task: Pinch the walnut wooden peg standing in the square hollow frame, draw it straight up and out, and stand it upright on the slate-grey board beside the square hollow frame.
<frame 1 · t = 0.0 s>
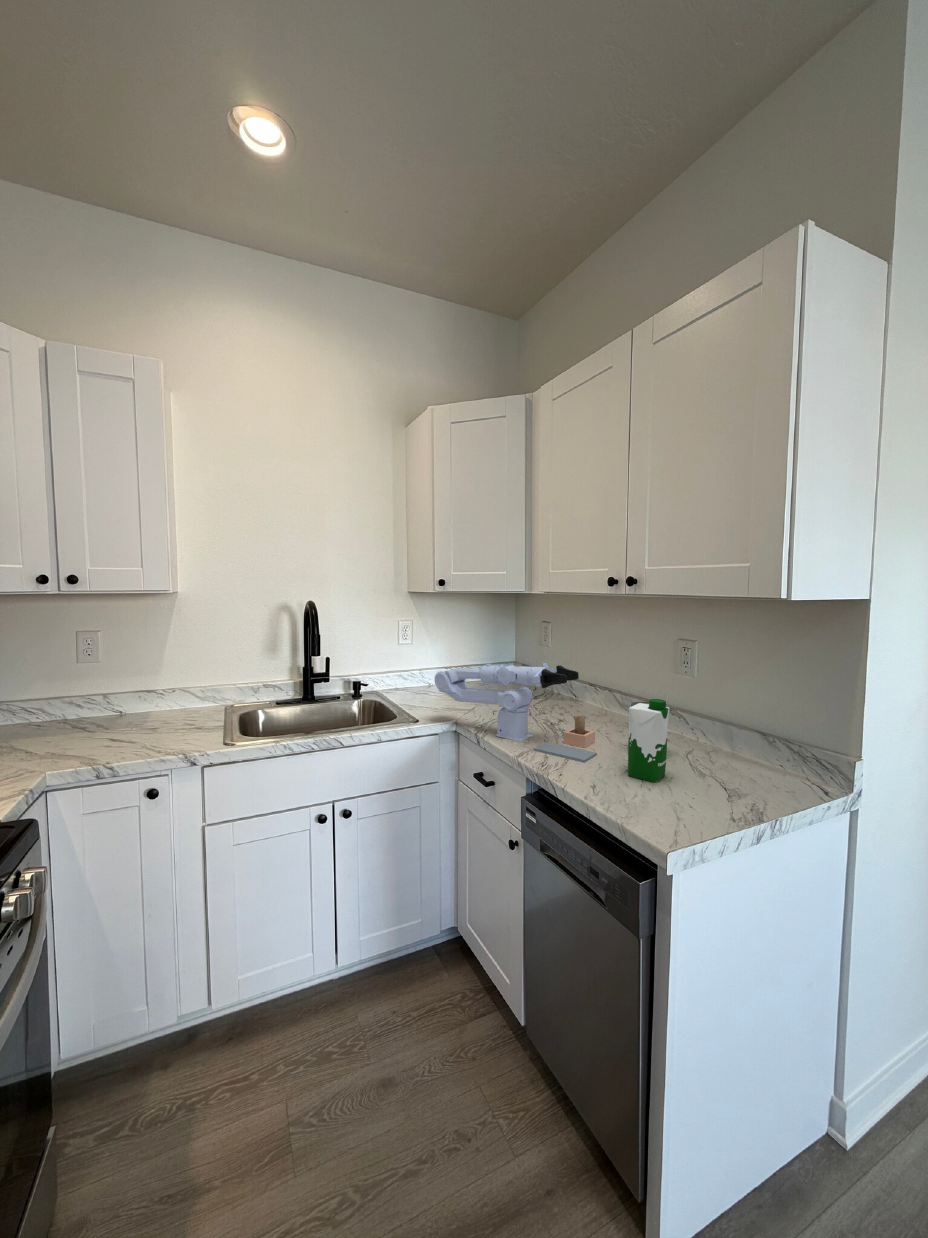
hand: (572, 677, 153), 22 cm above the counter, tool horizontal, fingers open, 7 cm apart
milk carton: (646, 776, 133), on the counter
peg: (579, 742, 159), resting on square hollow frame
coffee can: (647, 753, 152), on the counter
square hollow frame: (579, 744, 159), on the counter
board: (564, 754, 149), on the counter
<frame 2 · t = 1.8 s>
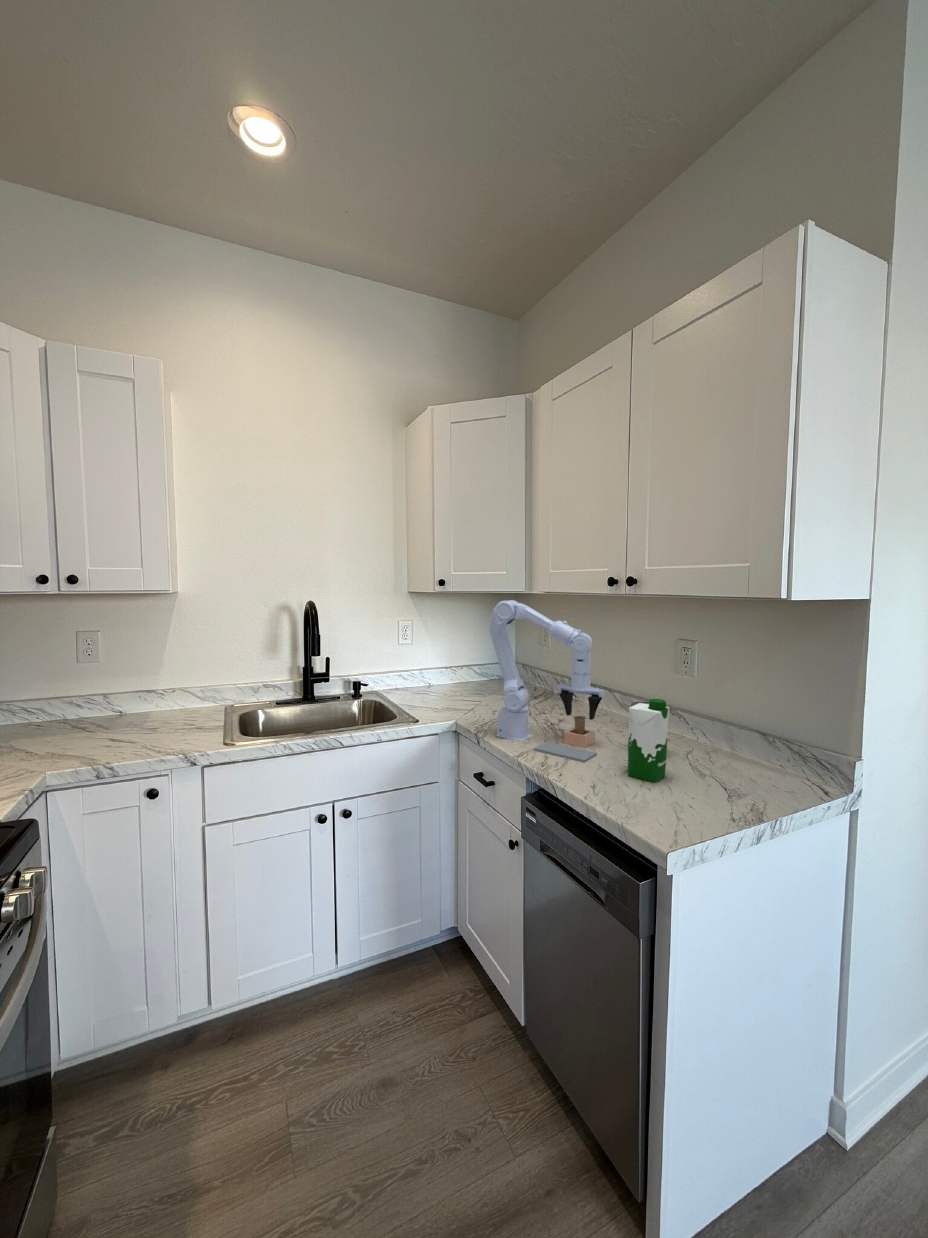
hand: (580, 717, 158), 9 cm above the counter, tool pointing down, fingers open, 7 cm apart
nothing on the counter moved.
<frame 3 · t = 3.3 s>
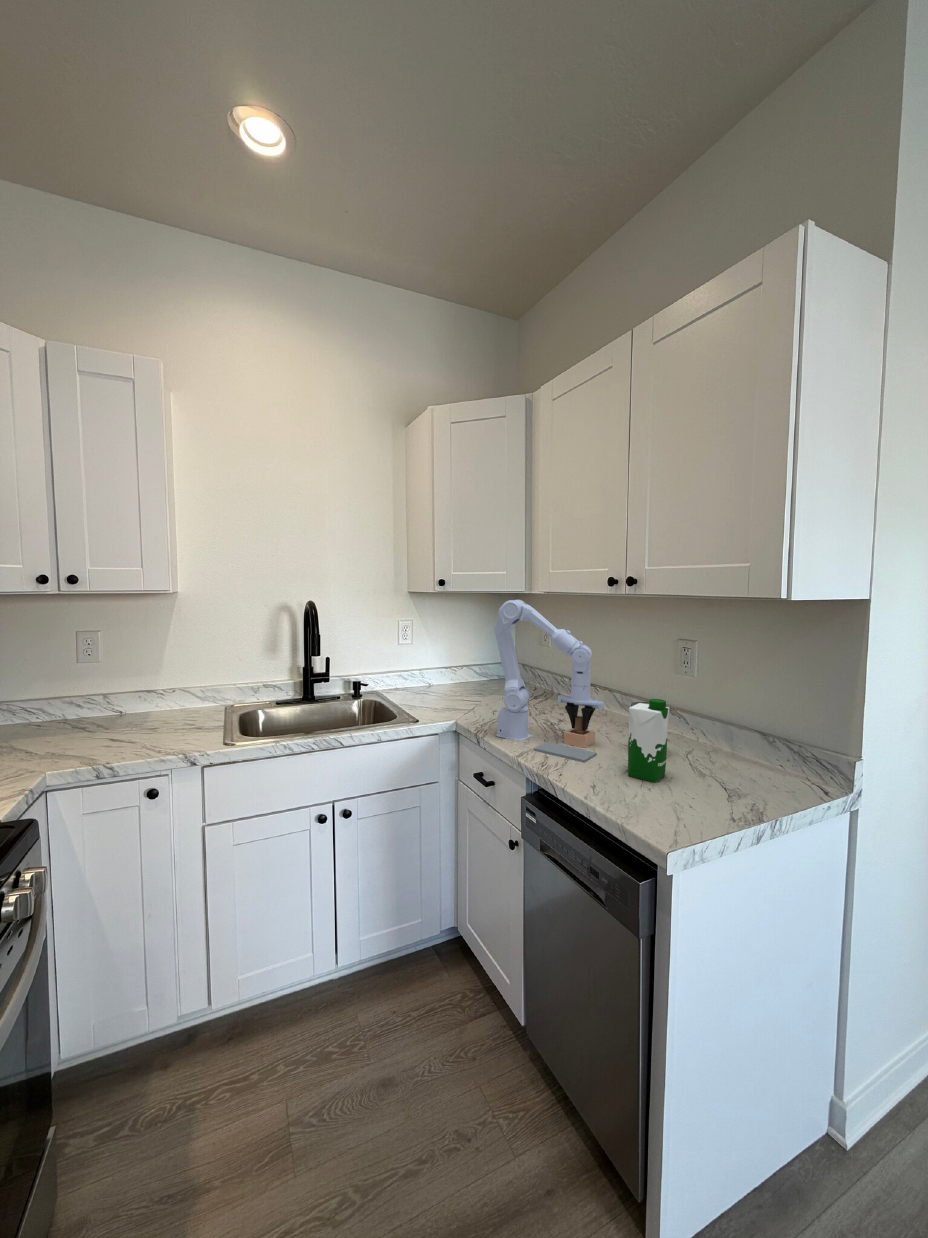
hand: (579, 728, 158), 5 cm above the counter, tool pointing down, fingers closed on peg, 3 cm apart
peg: (579, 742, 159), resting on square hollow frame, touching gripper
everything else where it was.
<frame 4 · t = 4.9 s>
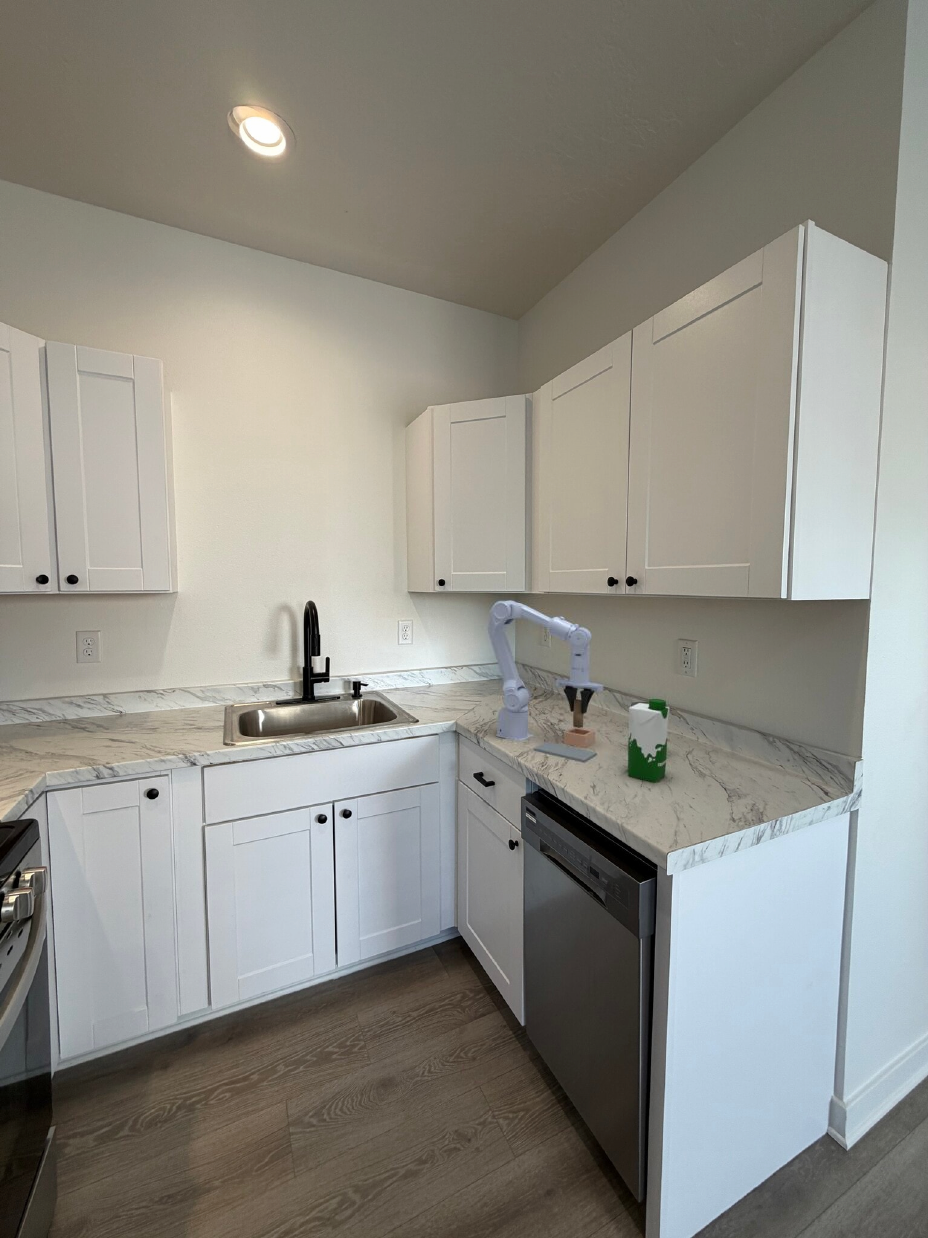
hand: (578, 712, 157), 10 cm above the counter, tool pointing down, fingers closed on peg, 3 cm apart
peg: (578, 726, 157), point 6 cm above the counter, touching gripper
everything else where it was.
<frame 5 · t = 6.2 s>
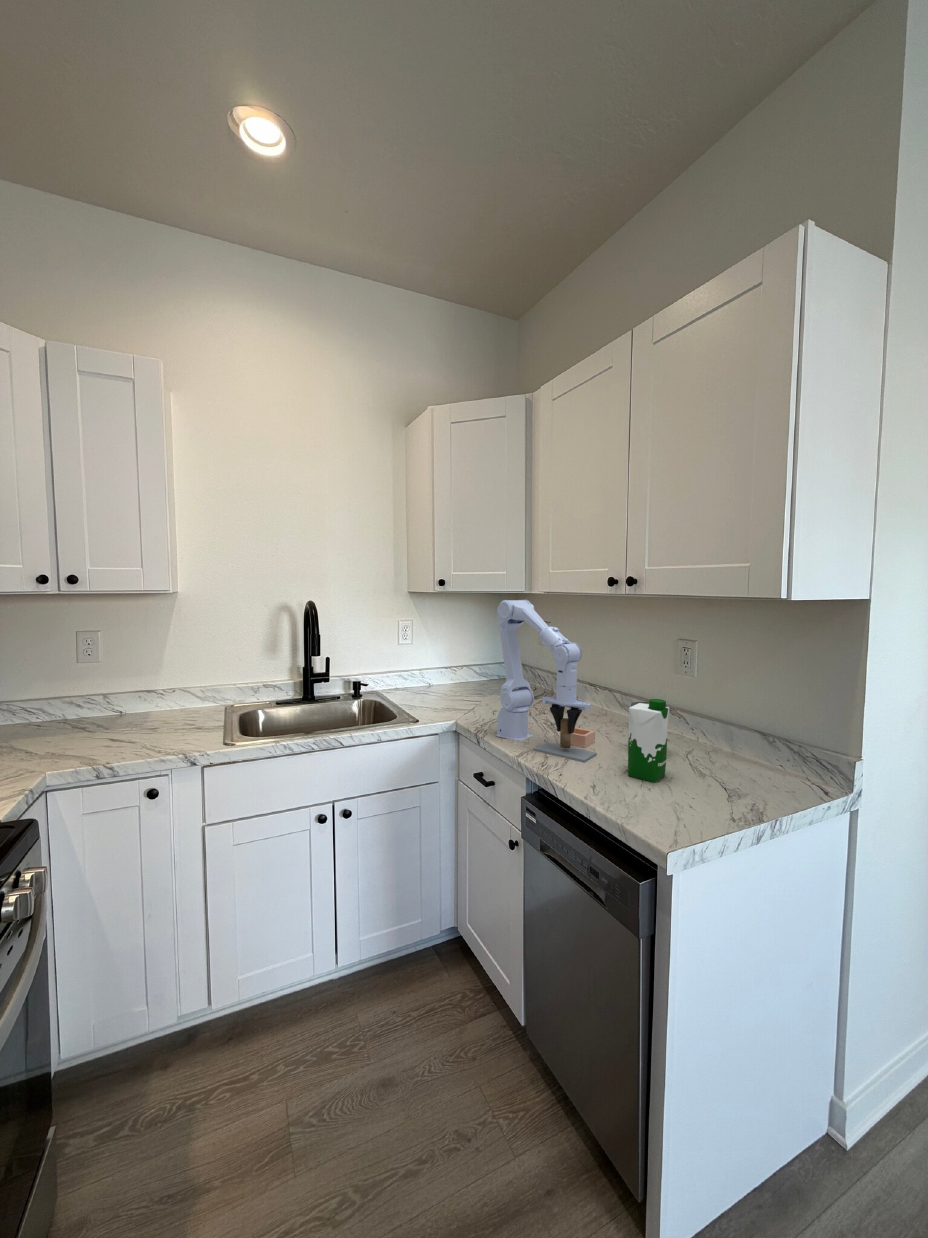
hand: (565, 731, 149), 7 cm above the counter, tool pointing down, fingers closed on peg, 3 cm apart
peg: (565, 746, 149), point 2 cm above the counter, touching gripper
everything else where it was.
when the fingers open (7 cm above the counter, at t = 6.9 s): peg stays where it is, resting on board.
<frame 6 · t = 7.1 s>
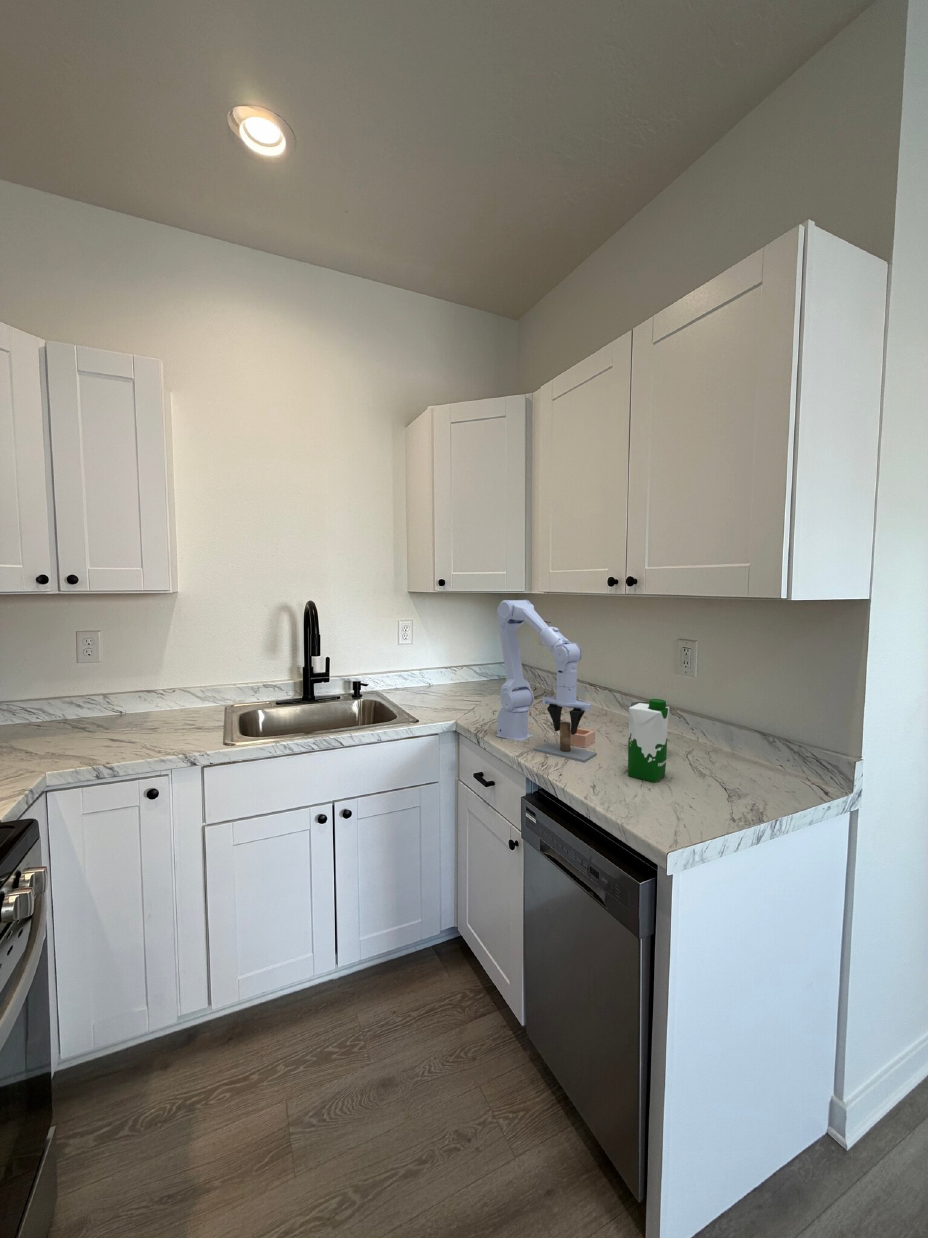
hand: (565, 732, 149), 7 cm above the counter, tool pointing down, fingers open, 5 cm apart
peg: (565, 750, 149), point 1 cm above the counter, touching board
everything else where it was.
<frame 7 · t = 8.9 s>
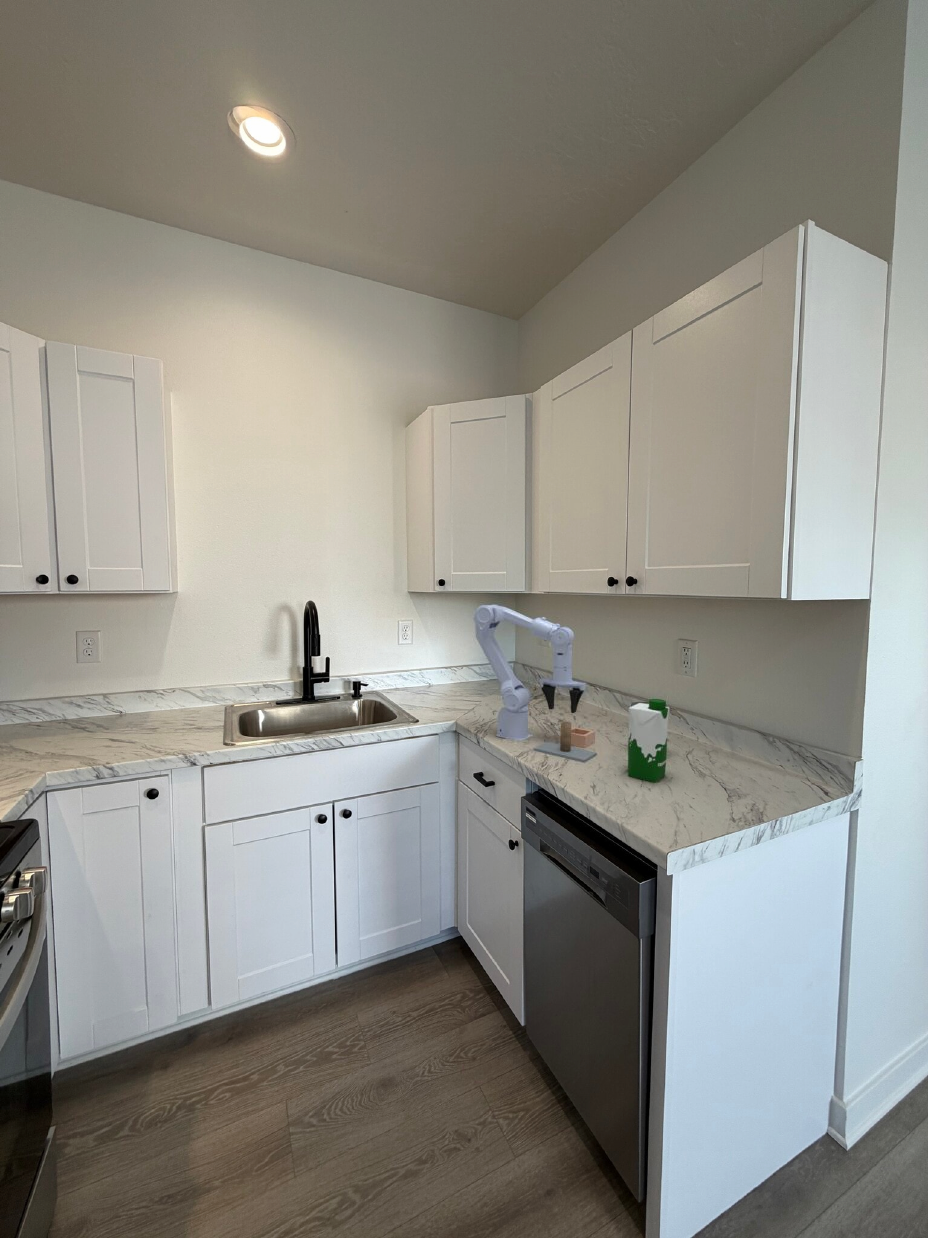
hand: (562, 710, 158), 10 cm above the counter, tool pointing down, fingers open, 7 cm apart
nothing on the counter moved.
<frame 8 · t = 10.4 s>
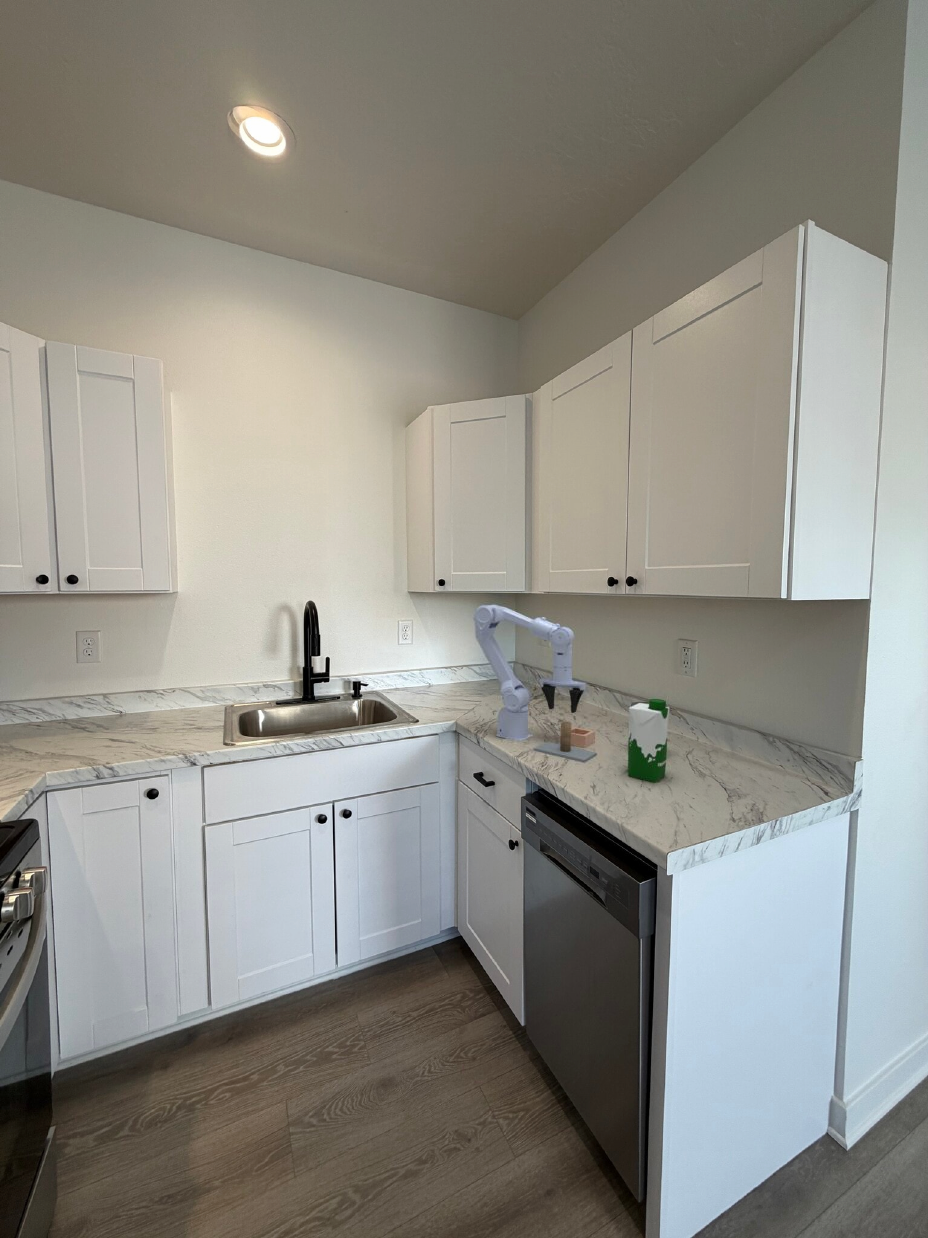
hand: (562, 710, 159), 10 cm above the counter, tool pointing down, fingers open, 7 cm apart
nothing on the counter moved.
at the end: peg inside the target area on the board (0.2 cm from its centre), point 1.2 cm above the board's base; peg tilted 0°; the gripper is holding nothing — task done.
